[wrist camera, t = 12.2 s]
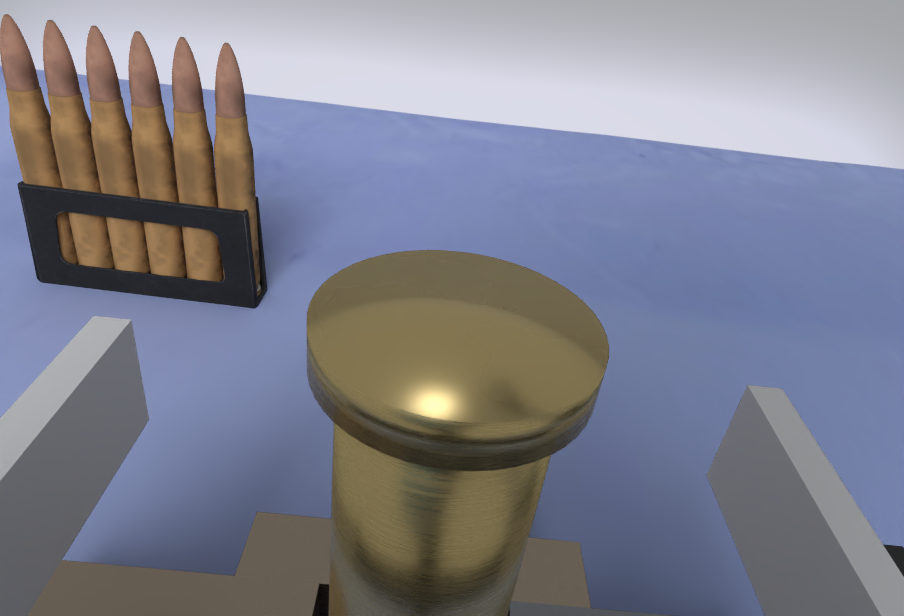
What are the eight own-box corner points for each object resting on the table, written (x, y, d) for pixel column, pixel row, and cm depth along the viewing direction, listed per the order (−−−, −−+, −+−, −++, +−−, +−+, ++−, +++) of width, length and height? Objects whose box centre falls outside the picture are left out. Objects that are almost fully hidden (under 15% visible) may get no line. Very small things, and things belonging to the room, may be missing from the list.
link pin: (479, 677, 18) (584, 266, 11) (481, 872, 14) (639, 438, 7) (325, 663, 17) (336, 237, 11) (288, 858, 14) (270, 400, 7)
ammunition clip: (36, 282, 31) (-34, 14, 25) (58, 264, 33) (-3, 8, 27) (256, 309, 32) (242, 50, 25) (267, 289, 33) (256, 41, 27)
